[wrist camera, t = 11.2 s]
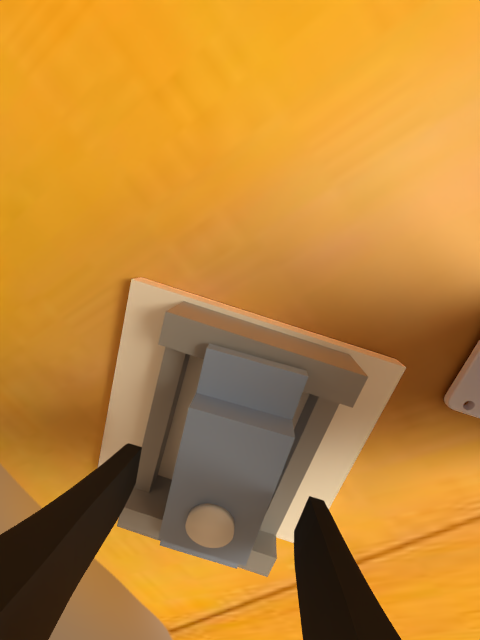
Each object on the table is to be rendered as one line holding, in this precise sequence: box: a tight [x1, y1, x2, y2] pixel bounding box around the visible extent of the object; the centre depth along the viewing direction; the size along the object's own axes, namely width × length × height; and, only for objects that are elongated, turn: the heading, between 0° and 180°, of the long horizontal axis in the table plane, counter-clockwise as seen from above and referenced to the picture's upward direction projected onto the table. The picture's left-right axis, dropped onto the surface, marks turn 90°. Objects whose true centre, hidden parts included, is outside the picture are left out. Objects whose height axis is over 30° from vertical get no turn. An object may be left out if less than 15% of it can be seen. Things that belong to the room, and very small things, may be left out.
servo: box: [158, 343, 309, 569], centre depth 12 cm, size 4×11×4 cm, turn 165°
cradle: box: [98, 277, 406, 577], centre depth 13 cm, size 14×13×3 cm
